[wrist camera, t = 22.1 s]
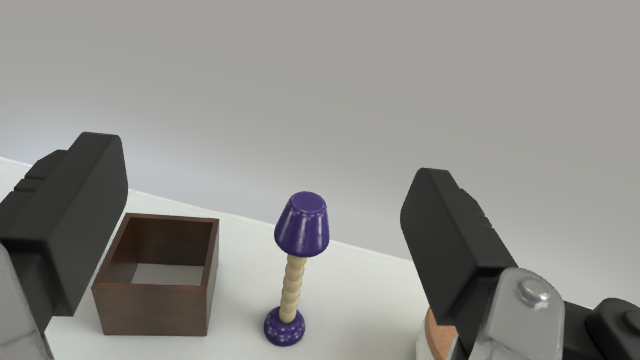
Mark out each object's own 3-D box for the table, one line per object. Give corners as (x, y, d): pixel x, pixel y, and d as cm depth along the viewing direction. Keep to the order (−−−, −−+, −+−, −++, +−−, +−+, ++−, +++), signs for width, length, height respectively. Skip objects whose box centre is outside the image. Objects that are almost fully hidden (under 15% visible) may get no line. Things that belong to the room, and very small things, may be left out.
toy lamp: (251, 322, 39) (266, 197, 29) (283, 296, 42) (307, 176, 32) (283, 355, 36) (312, 233, 27) (315, 326, 40) (351, 206, 30)
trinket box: (532, 429, 35) (592, 380, 30) (432, 455, 32) (480, 406, 26) (469, 325, 43) (507, 272, 38) (385, 338, 40) (413, 281, 34)
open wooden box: (104, 335, 35) (90, 288, 31) (133, 258, 42) (125, 212, 38) (206, 336, 37) (206, 291, 33) (218, 262, 44) (219, 218, 40)
